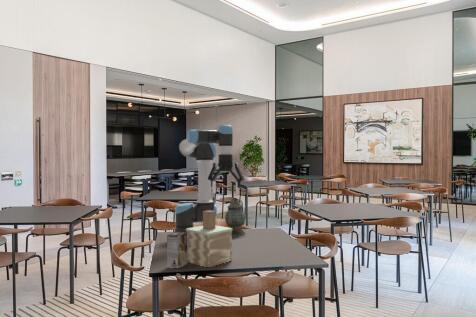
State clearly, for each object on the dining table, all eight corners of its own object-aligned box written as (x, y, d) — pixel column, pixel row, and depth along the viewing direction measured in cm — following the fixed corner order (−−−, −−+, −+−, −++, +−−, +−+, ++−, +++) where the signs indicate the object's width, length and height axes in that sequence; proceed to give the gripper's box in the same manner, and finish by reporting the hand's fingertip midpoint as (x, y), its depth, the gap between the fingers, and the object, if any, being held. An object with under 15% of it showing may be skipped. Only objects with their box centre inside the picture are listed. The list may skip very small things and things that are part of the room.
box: (186, 261, 188) (186, 230, 188) (210, 255, 200) (210, 226, 200) (207, 268, 177) (207, 235, 177) (231, 261, 189) (231, 230, 188)
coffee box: (176, 262, 186) (176, 231, 186) (187, 264, 184) (187, 232, 184) (166, 267, 178) (166, 235, 178) (178, 269, 175) (178, 236, 175)
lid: (185, 230, 188) (185, 211, 188) (210, 225, 200) (210, 207, 200) (207, 235, 176) (207, 215, 176) (232, 230, 188) (232, 211, 188)
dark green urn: (223, 235, 249) (223, 198, 249) (227, 231, 263) (226, 196, 263) (244, 235, 247) (244, 199, 247) (246, 231, 261) (246, 196, 261)
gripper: (201, 154, 197) (201, 193, 197) (245, 153, 188) (245, 195, 188) (207, 154, 204) (207, 191, 204) (249, 153, 195) (249, 193, 195)
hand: (225, 193), depth 196 cm, fingers open, 13 cm apart
